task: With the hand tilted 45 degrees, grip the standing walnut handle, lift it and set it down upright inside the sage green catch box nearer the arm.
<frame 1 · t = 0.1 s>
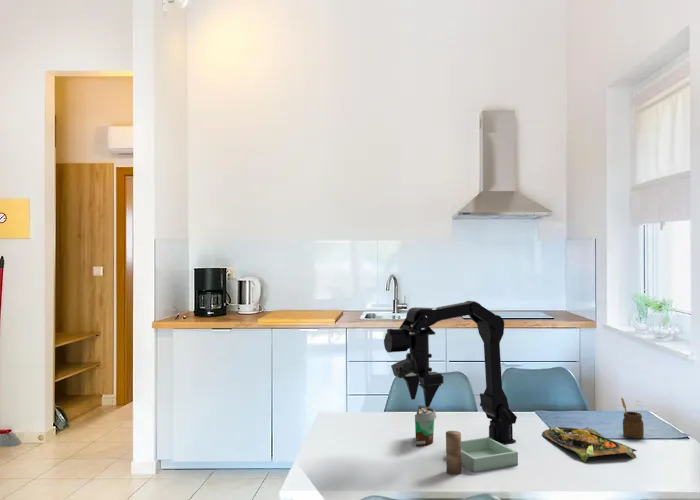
hand: (420, 402, 164), 15 cm above the table, tool pointing down, fingers open, 9 cm apart
prepared meal: (585, 447, 168), on the table
food container: (426, 442, 174), on the table
catch box: (482, 459, 157), on the table
walnut handle: (454, 472, 148), on the table
utensil holder: (632, 436, 176), on the table
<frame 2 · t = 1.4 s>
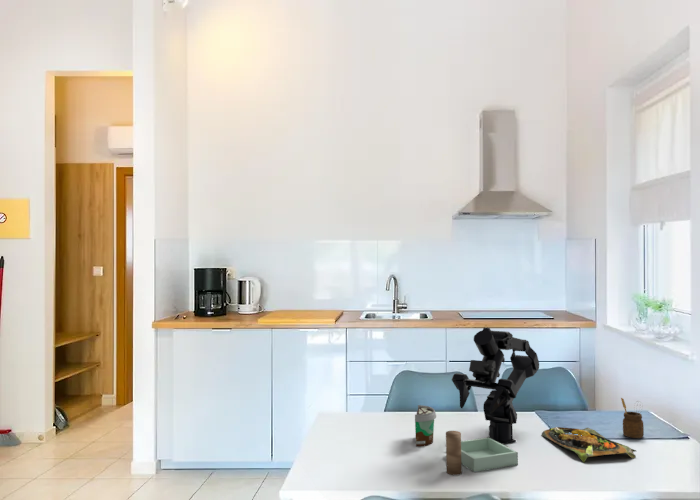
hand: (475, 409, 160), 14 cm above the table, tool tilted 45°, fingers open, 9 cm apart
nothing on the table moved.
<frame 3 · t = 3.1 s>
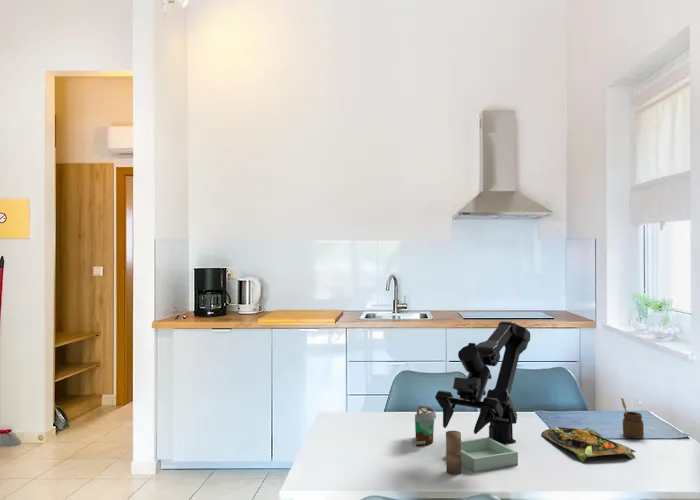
hand: (459, 430, 151), 10 cm above the table, tool tilted 45°, fingers open, 9 cm apart
nothing on the table moved.
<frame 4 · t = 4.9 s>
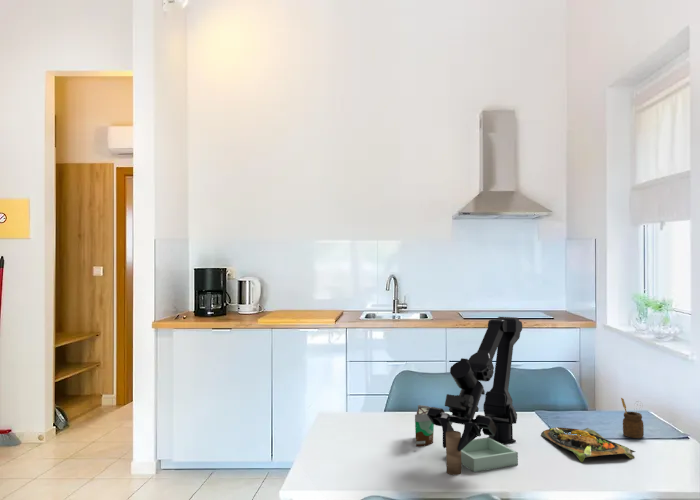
hand: (451, 449, 147), 7 cm above the table, tool tilted 45°, fingers closed on walnut handle, 4 cm apart
walnut handle: (454, 472, 148), on the table, touching gripper
everything else where it was.
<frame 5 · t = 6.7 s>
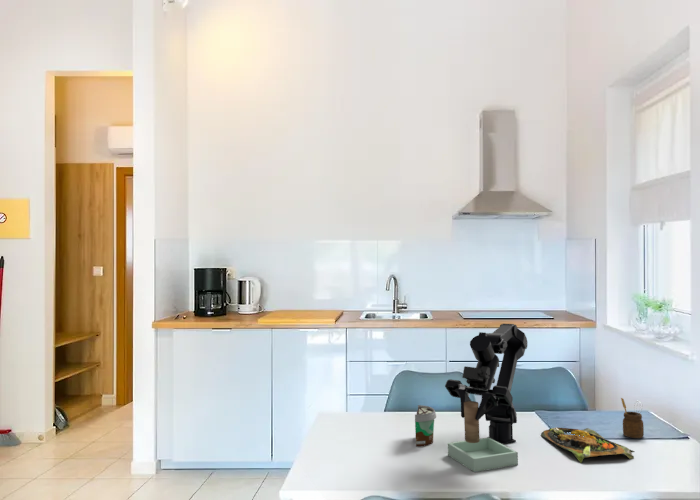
hand: (469, 418, 154), 13 cm above the table, tool tilted 45°, fingers closed on walnut handle, 4 cm apart
walnut handle: (472, 440, 155), point 6 cm above the table, touching gripper
everything else where it was.
when the fingers open (8 cm above the table, at t = 8.3 s): walnut handle drops 1 cm, resting on catch box.
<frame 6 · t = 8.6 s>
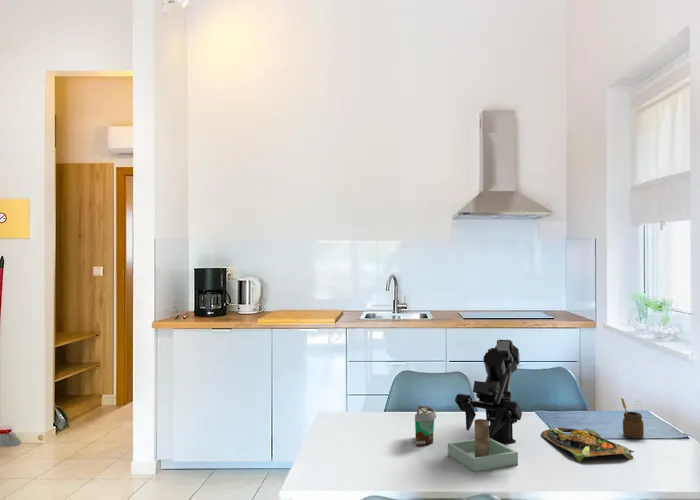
hand: (479, 432, 156), 8 cm above the table, tool tilted 45°, fingers open, 7 cm apart
walnut handle: (482, 458, 157), resting on catch box
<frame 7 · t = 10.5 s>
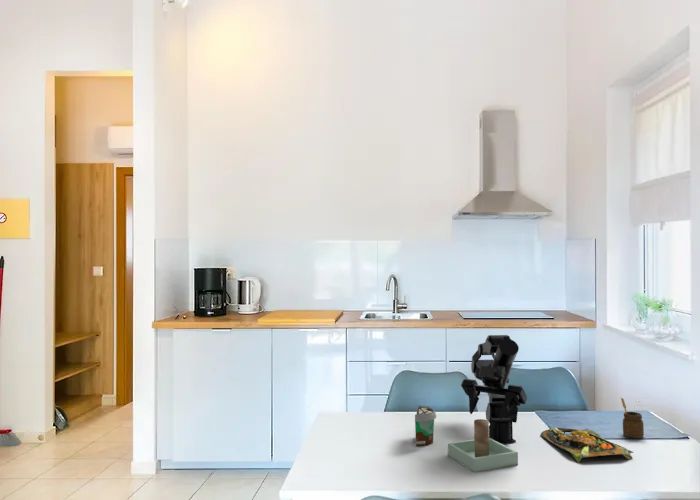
hand: (485, 415, 160), 12 cm above the table, tool tilted 45°, fingers open, 9 cm apart
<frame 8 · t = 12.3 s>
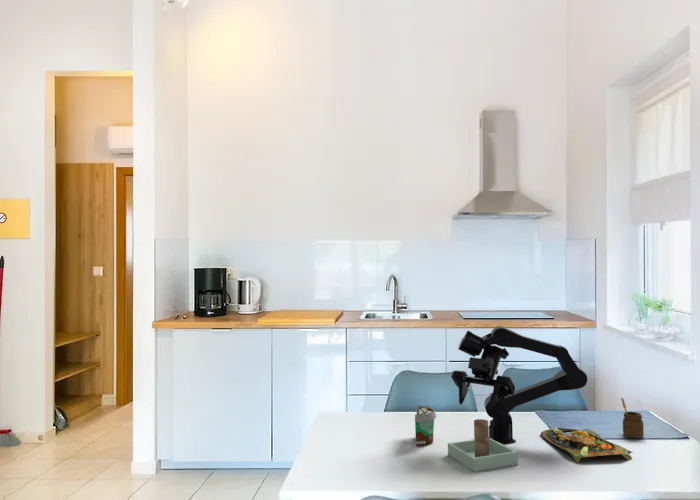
hand: (474, 405, 164), 14 cm above the table, tool tilted 45°, fingers open, 9 cm apart
at the end: walnut handle inside the target area on the catch box (0.0 cm from its centre), point 0.4 cm above the catch box's base; walnut handle tilted 0°; the gripper is holding nothing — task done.
